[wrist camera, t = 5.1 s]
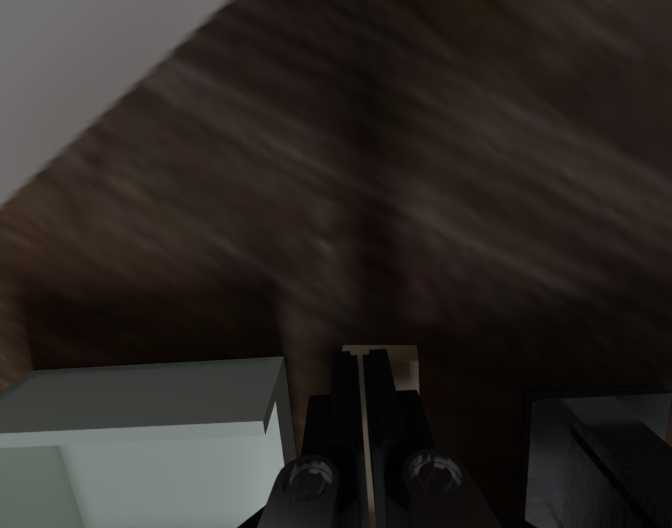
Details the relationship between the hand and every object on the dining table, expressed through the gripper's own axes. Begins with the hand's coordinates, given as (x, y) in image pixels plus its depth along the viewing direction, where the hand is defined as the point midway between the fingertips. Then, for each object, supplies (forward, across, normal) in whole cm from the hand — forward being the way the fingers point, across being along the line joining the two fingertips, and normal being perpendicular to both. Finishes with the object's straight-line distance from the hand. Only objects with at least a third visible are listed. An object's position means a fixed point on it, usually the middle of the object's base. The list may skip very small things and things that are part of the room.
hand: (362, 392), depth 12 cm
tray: (+5, +9, +8) cm, 14 cm away
